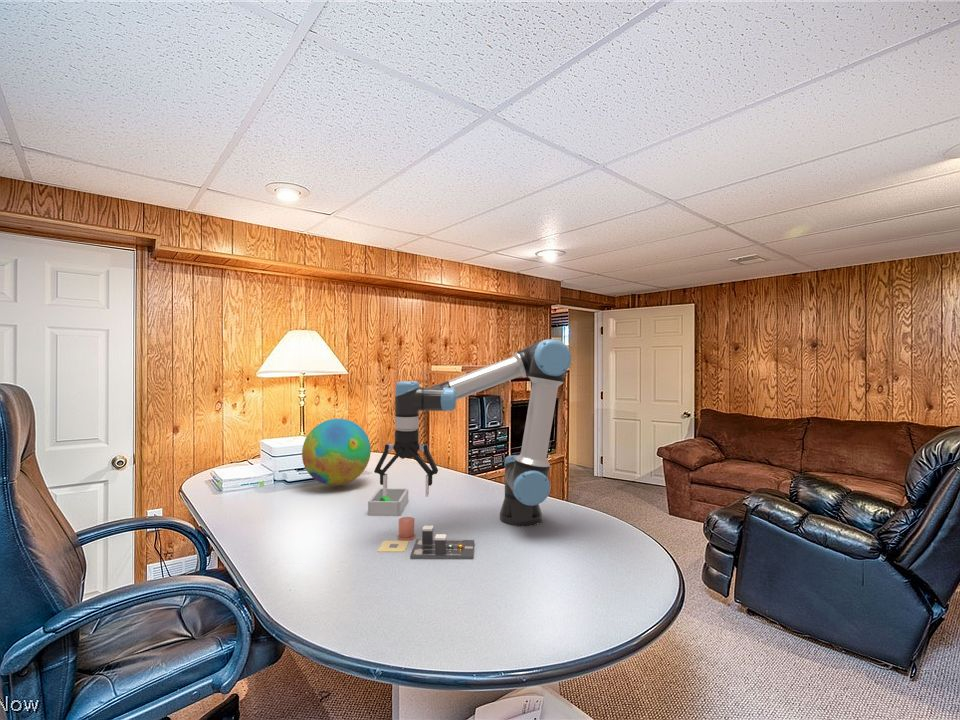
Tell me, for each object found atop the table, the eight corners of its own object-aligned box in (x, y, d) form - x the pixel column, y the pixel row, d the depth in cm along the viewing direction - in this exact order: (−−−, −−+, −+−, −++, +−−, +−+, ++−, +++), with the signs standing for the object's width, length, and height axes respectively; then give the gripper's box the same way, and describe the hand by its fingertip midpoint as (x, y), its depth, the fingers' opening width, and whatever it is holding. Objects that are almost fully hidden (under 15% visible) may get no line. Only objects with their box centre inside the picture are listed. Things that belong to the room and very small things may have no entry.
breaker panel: (474, 544, 145) (474, 537, 145) (473, 561, 133) (473, 553, 133) (416, 544, 145) (416, 536, 145) (410, 560, 133) (410, 552, 133)
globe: (288, 491, 202) (288, 422, 202) (322, 474, 231) (322, 414, 231) (353, 495, 197) (353, 424, 197) (380, 477, 226) (380, 415, 226)
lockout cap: (416, 534, 153) (416, 516, 153) (413, 541, 148) (413, 522, 148) (399, 534, 153) (399, 516, 153) (396, 541, 148) (396, 522, 148)
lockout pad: (409, 542, 146) (409, 540, 146) (404, 553, 138) (404, 551, 138) (383, 542, 147) (383, 540, 147) (377, 553, 139) (377, 550, 139)
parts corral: (408, 500, 190) (408, 488, 190) (400, 515, 172) (400, 502, 172) (379, 500, 190) (379, 488, 190) (367, 515, 172) (367, 501, 172)
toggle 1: (433, 540, 144) (433, 525, 144) (432, 544, 141) (432, 529, 141) (423, 540, 144) (423, 525, 144) (422, 544, 141) (422, 529, 141)
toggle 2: (446, 549, 137) (446, 534, 137) (445, 554, 134) (445, 538, 134) (436, 549, 137) (436, 534, 137) (435, 554, 134) (435, 538, 134)
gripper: (446, 428, 154) (445, 492, 154) (371, 427, 154) (370, 491, 154) (444, 431, 146) (443, 499, 146) (365, 430, 147) (364, 497, 147)
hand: (406, 495), depth 150 cm, fingers open, 13 cm apart
